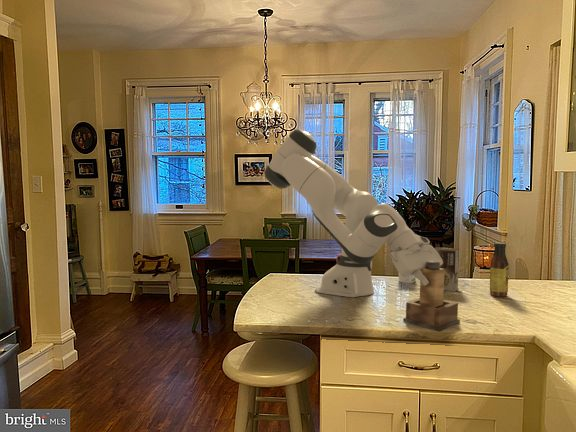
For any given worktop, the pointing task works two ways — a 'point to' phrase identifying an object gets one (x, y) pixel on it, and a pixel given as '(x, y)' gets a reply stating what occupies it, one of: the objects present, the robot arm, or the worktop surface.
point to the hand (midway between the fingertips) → (433, 282)
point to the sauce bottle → (499, 271)
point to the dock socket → (432, 315)
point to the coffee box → (449, 267)
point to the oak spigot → (432, 285)
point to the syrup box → (407, 279)
